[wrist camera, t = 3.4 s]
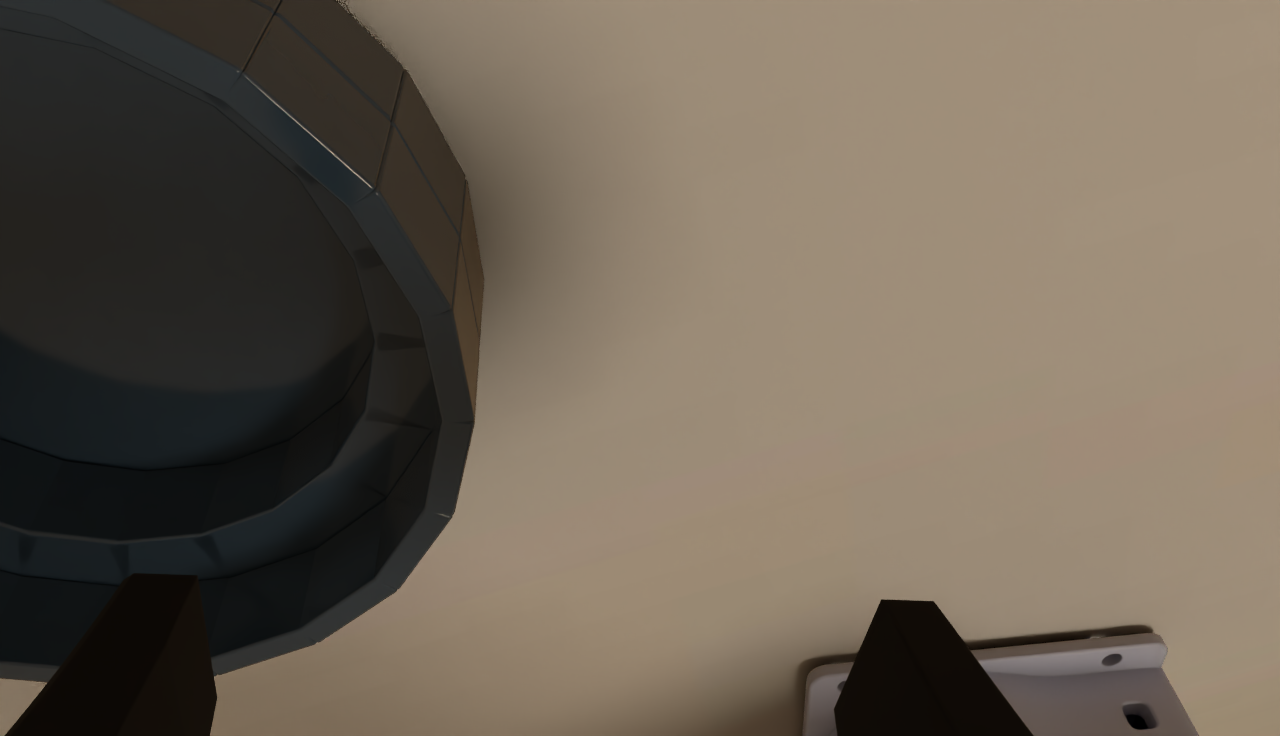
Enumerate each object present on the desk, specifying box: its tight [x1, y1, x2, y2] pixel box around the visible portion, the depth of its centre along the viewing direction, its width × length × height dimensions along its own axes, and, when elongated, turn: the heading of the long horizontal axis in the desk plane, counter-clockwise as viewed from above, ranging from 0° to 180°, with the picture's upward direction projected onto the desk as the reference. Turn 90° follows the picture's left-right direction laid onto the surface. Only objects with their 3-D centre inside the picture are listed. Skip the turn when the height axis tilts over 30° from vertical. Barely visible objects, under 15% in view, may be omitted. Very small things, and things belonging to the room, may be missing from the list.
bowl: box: [0, 0, 484, 682], centre depth 17 cm, size 13×13×4 cm
